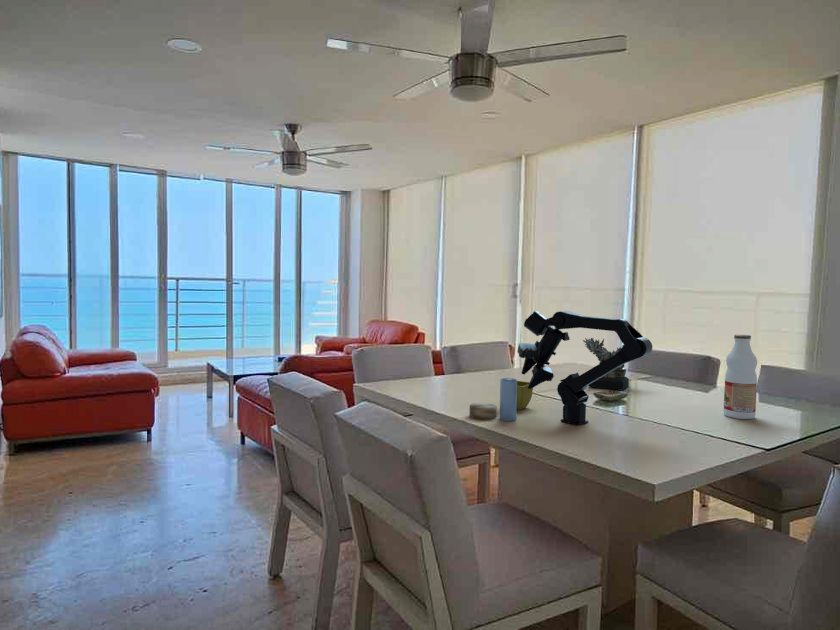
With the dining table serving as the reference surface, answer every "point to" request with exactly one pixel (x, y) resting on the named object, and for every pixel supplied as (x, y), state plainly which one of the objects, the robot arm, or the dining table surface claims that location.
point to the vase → (508, 399)
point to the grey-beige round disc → (483, 411)
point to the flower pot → (523, 394)
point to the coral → (616, 376)
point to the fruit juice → (740, 380)
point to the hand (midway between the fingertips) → (525, 381)
